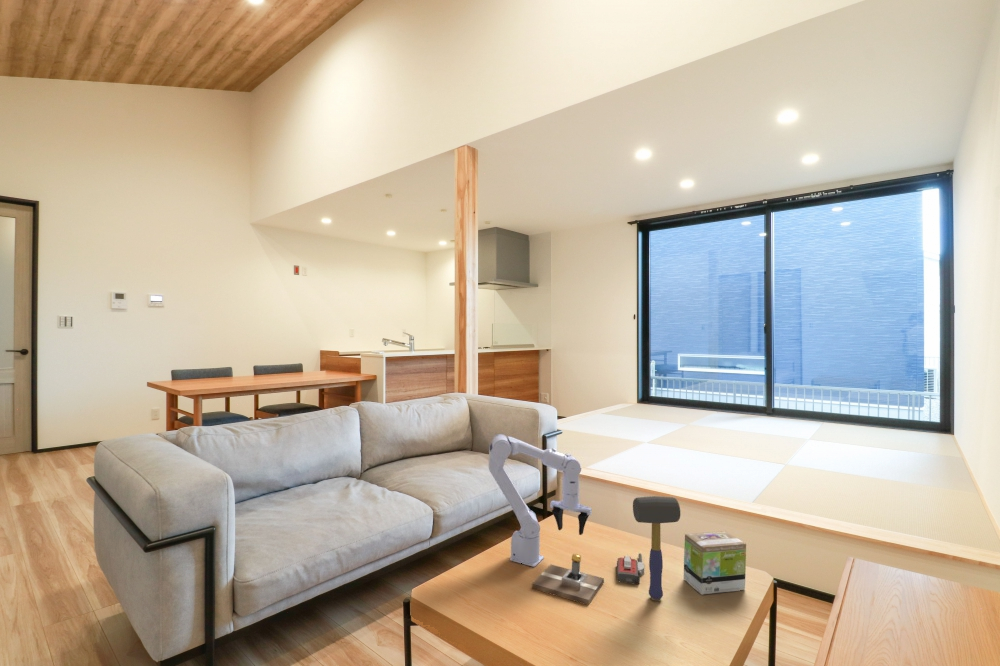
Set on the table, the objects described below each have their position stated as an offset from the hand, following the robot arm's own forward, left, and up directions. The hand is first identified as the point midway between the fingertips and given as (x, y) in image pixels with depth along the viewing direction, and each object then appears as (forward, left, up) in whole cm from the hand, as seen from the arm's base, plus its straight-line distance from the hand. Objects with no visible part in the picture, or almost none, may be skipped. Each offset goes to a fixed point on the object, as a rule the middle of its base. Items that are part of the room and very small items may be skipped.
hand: (570, 531), depth 168 cm
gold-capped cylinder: (+8, -17, -8) cm, 20 cm away
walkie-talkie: (+20, +3, -10) cm, 23 cm away
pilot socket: (+8, -17, -8) cm, 20 cm away
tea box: (+45, +6, -10) cm, 46 cm away
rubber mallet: (+31, -11, -10) cm, 34 cm away
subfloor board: (+6, -17, -9) cm, 20 cm away
